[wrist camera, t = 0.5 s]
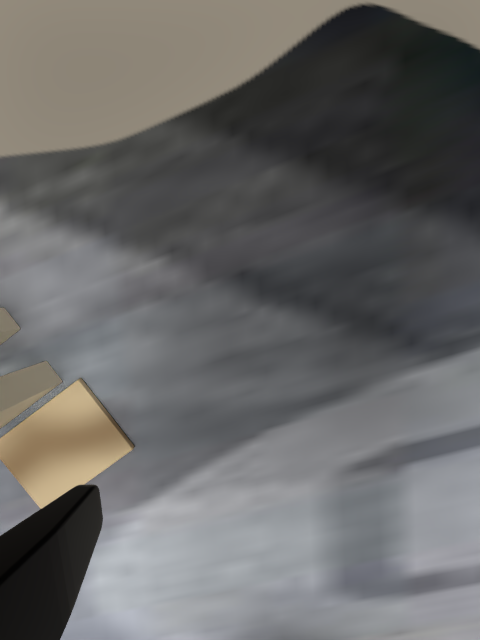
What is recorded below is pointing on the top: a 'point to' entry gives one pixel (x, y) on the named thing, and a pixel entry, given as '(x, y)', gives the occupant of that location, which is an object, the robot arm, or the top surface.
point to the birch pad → (63, 444)
